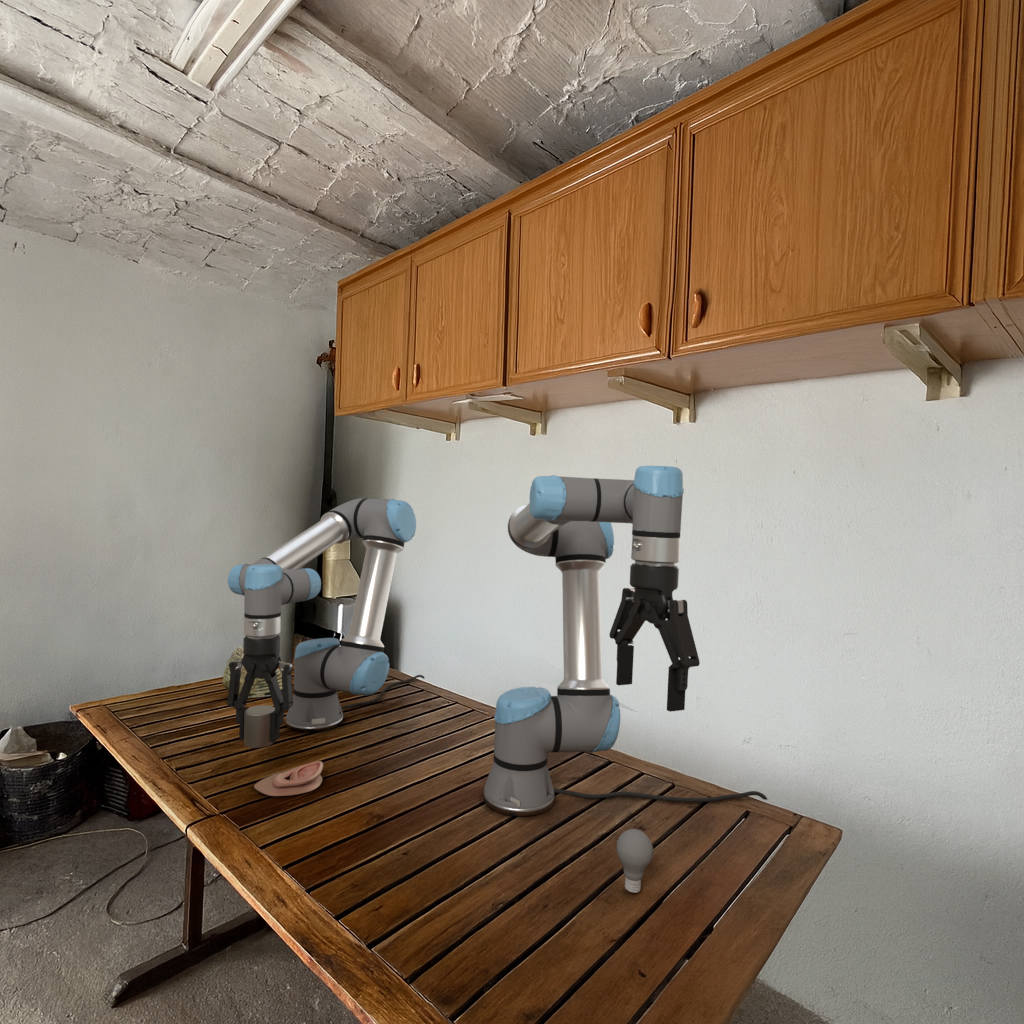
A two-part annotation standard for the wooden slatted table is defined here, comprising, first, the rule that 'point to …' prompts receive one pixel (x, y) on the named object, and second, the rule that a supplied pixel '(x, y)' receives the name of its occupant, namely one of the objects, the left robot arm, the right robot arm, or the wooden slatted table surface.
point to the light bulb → (634, 857)
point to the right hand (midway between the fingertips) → (648, 696)
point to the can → (258, 726)
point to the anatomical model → (292, 781)
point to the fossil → (259, 684)
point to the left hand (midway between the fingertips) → (259, 738)
